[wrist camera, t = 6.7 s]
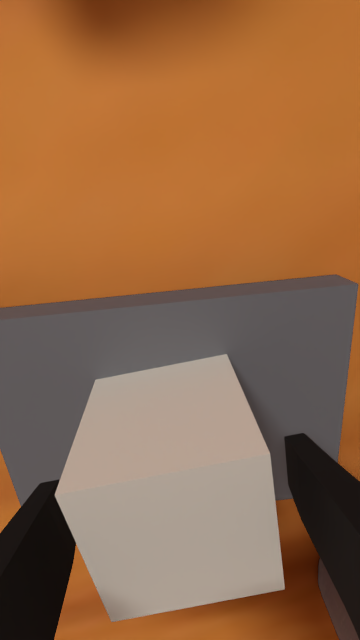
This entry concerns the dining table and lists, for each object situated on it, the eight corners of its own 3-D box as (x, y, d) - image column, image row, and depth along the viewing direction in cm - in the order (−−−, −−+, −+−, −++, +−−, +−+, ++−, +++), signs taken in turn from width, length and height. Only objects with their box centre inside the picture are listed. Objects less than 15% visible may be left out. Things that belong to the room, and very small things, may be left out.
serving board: (335, 274, 13) (358, 283, 11) (318, 468, 16) (333, 493, 15) (-22, 310, 12) (-45, 324, 11) (41, 500, 16) (29, 529, 14)
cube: (226, 354, 12) (270, 453, 7) (242, 456, 14) (285, 589, 9) (95, 379, 12) (54, 495, 7) (127, 478, 14) (111, 622, 9)
